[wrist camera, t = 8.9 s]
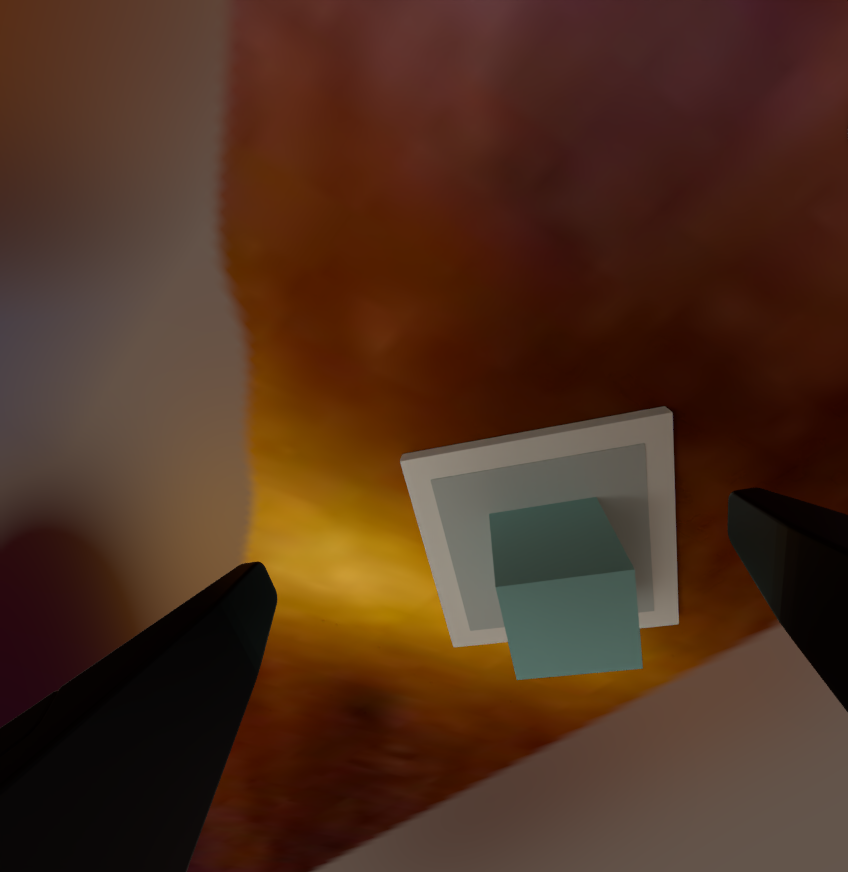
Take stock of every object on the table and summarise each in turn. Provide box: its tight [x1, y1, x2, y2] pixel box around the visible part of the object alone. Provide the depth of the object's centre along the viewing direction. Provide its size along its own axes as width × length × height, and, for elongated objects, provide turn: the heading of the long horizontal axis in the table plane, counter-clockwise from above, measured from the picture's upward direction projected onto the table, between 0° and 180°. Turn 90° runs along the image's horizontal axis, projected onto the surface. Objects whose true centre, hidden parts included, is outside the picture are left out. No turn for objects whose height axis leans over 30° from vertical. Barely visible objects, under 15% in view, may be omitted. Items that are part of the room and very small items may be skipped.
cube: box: [489, 497, 643, 680], centre depth 19 cm, size 5×5×5 cm
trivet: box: [400, 406, 679, 647], centre depth 22 cm, size 12×12×1 cm
